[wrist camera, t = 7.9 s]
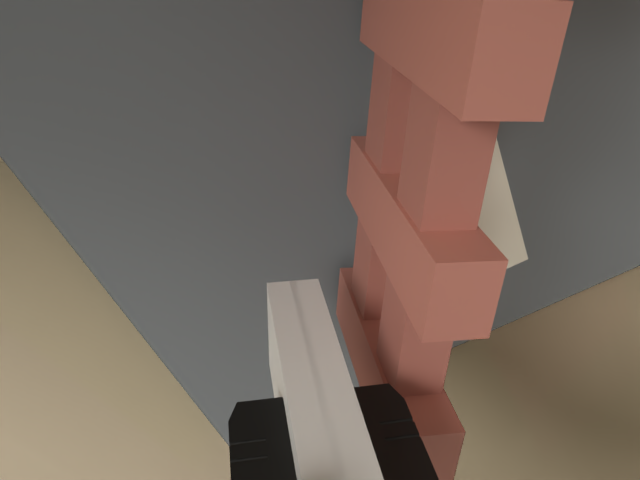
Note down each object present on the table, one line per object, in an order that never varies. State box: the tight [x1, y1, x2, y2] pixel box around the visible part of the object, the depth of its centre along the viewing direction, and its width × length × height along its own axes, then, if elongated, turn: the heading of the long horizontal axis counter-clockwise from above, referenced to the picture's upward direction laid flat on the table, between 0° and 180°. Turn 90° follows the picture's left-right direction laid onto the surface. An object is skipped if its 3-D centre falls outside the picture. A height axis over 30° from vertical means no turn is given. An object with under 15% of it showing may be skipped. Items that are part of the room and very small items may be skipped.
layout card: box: [0, 0, 640, 445], centre depth 16 cm, size 20×23×1 cm
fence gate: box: [336, 0, 574, 480], centre depth 13 cm, size 13×2×7 cm, turn 177°
